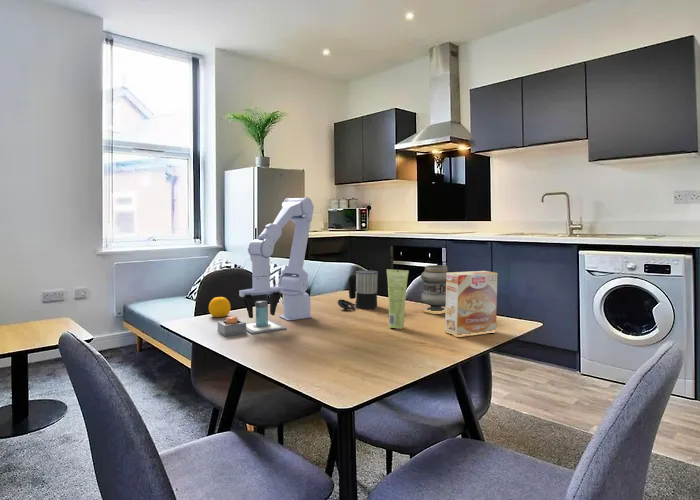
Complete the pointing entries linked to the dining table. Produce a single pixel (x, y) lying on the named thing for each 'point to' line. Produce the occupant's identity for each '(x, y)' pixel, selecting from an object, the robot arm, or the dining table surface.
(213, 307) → the apple
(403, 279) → the tube
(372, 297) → the milk frother
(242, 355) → the dining table surface
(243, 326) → the button housing
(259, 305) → the marker
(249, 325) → the board
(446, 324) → the coffeecake box
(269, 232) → the robot arm
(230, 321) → the button
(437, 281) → the apothecary jar
